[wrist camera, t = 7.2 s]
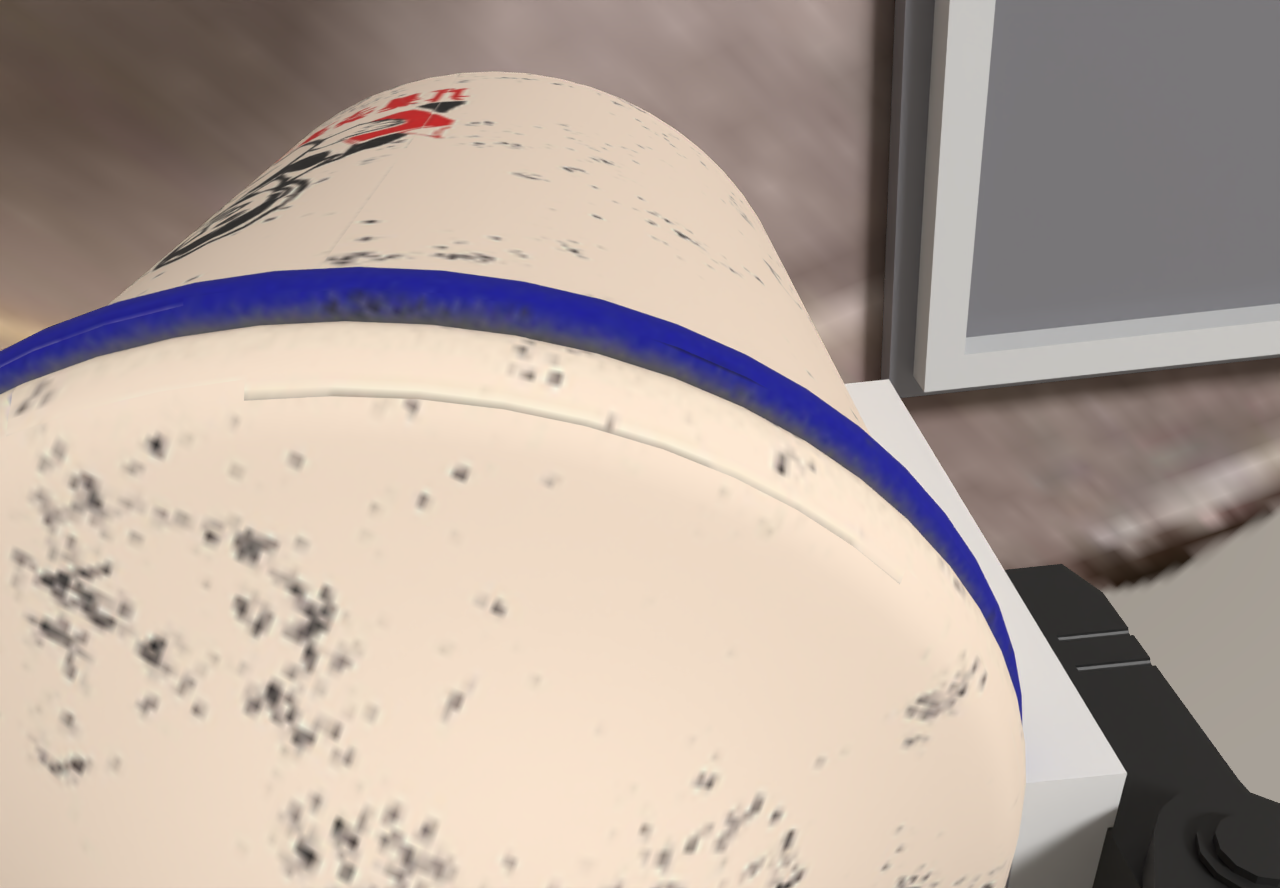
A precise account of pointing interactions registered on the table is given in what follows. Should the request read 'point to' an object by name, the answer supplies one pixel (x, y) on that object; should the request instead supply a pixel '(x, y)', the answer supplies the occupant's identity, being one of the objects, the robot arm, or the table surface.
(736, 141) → the table surface
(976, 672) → the teacup with lid
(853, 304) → the table surface
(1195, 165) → the base
